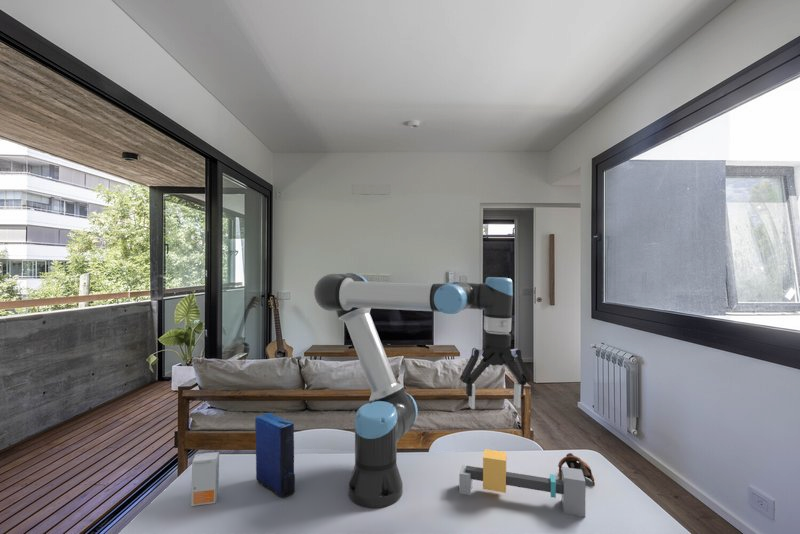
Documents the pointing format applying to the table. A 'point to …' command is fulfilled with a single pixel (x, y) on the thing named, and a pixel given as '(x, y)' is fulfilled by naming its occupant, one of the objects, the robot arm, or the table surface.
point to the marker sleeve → (494, 470)
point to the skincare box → (205, 478)
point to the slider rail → (538, 485)
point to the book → (275, 454)
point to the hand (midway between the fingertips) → (494, 406)
